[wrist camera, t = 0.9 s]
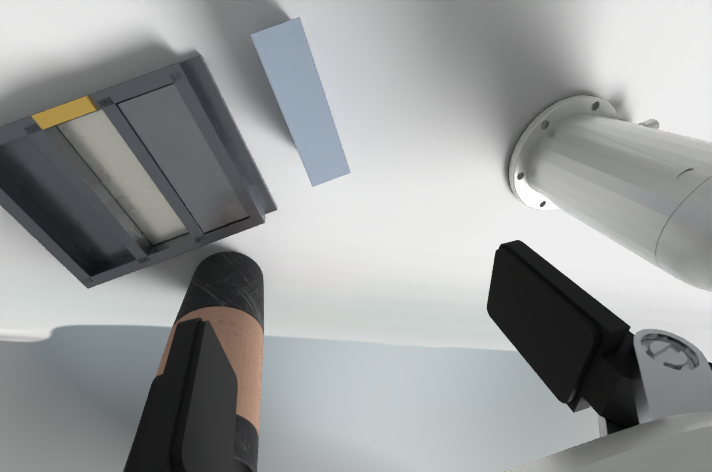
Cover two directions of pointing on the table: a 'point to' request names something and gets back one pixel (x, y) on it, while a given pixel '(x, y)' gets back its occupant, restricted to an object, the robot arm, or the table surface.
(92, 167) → the rack
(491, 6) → the table surface
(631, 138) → the robot arm
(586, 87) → the table surface
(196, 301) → the travel mug
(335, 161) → the panel
